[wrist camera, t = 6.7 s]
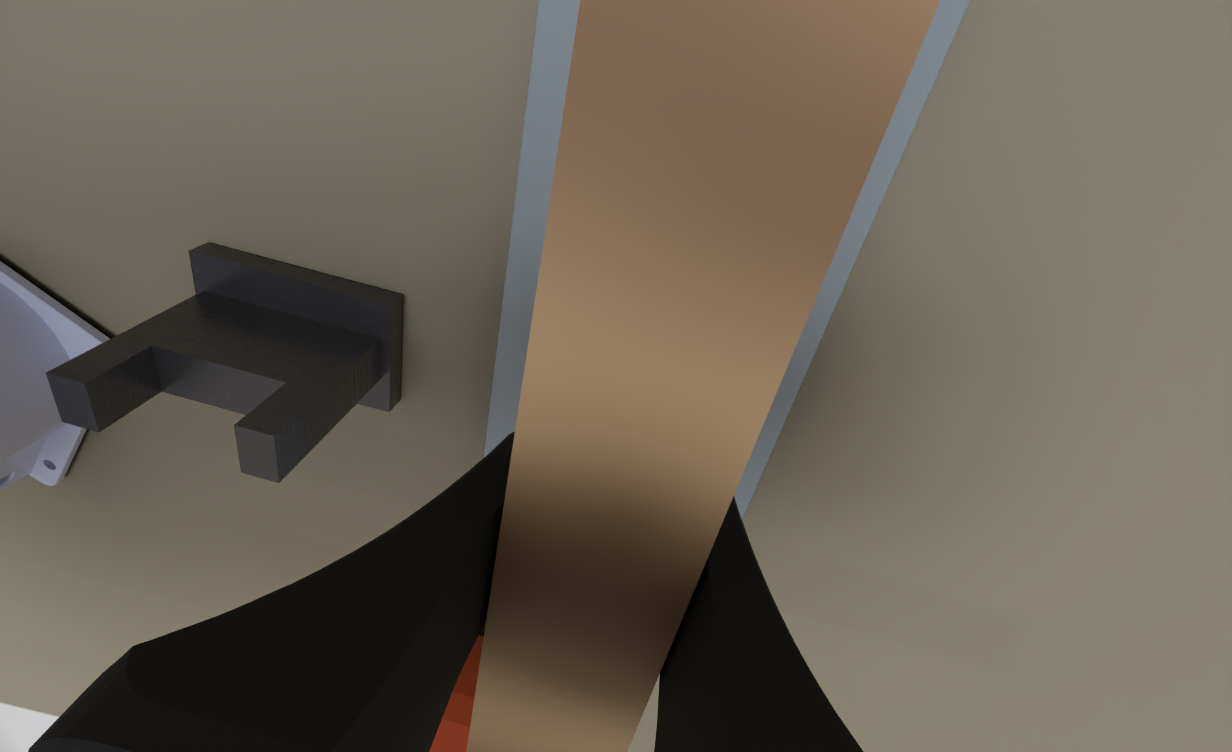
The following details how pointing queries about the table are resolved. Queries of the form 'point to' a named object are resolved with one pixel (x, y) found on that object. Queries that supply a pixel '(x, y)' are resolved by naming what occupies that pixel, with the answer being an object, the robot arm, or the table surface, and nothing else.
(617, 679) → the wavy strip
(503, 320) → the mat
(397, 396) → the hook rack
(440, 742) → the tomato
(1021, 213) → the table surface
